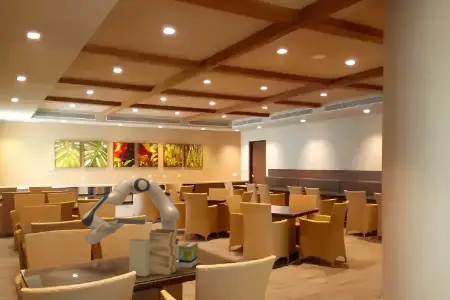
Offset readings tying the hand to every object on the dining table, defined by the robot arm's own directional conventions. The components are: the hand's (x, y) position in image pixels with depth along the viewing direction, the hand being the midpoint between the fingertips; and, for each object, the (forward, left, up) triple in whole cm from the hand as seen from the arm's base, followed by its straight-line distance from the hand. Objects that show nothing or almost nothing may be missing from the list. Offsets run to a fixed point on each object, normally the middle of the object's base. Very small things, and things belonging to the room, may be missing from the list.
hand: (120, 219), depth 267 cm
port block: (0, +15, -34) cm, 37 cm away
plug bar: (0, +7, -2) cm, 7 cm away
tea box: (-34, +33, -35) cm, 58 cm away
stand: (-11, +26, -34) cm, 44 cm away
